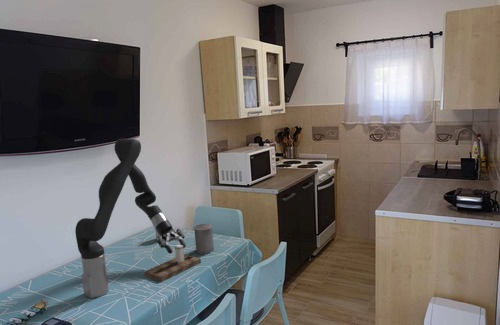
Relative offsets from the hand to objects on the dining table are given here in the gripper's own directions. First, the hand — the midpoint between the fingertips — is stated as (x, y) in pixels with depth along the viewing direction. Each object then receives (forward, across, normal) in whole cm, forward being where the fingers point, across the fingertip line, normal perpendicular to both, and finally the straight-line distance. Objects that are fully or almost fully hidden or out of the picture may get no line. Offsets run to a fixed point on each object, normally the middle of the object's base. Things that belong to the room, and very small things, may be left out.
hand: (178, 249), depth 192 cm
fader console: (+6, -4, +5) cm, 9 cm away
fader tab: (+5, 0, +4) cm, 7 cm away
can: (-22, +21, +34) cm, 45 cm away
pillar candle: (+4, +21, +8) cm, 23 cm away
